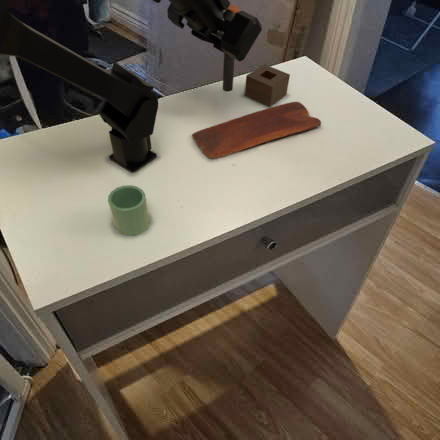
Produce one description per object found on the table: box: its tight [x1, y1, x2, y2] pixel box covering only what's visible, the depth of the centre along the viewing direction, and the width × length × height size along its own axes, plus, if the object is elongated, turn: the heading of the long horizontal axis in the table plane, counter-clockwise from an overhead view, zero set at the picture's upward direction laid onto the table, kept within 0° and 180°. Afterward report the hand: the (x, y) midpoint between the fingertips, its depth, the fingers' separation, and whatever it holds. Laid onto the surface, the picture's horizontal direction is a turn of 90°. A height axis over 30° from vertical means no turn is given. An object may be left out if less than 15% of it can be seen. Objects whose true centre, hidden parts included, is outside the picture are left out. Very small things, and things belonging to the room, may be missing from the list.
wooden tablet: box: [191, 101, 322, 159], centre depth 79 cm, size 27×10×2 cm, turn 118°
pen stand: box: [244, 64, 291, 108], centre depth 86 cm, size 7×7×4 cm
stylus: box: [222, 4, 239, 92], centre depth 73 cm, size 2×2×14 cm
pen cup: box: [107, 184, 150, 237], centre depth 62 cm, size 6×6×6 cm
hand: (235, 49), depth 73 cm, fingers closed on stylus, 2 cm apart
